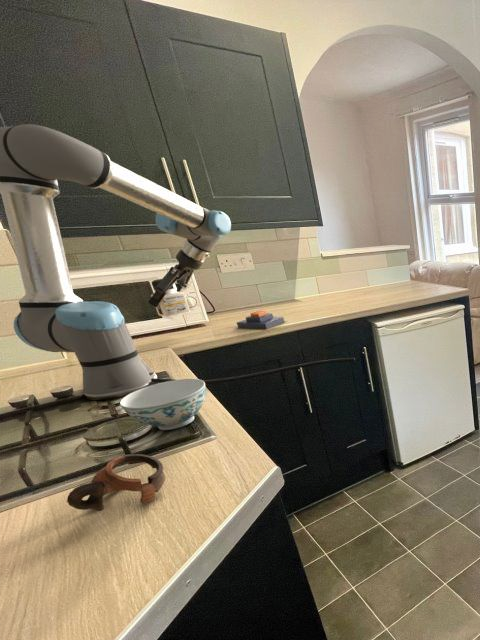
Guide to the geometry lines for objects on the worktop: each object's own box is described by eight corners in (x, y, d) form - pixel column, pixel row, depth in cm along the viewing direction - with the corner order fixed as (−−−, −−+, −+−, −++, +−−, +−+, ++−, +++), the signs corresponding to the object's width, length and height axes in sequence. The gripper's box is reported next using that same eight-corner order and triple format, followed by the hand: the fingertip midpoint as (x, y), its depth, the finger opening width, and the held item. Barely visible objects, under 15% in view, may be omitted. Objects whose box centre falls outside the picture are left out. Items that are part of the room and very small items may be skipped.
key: (267, 315, 173) (265, 311, 172) (259, 317, 169) (258, 313, 168) (259, 315, 173) (257, 310, 173) (251, 317, 170) (250, 313, 169)
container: (168, 317, 153) (154, 281, 148) (158, 315, 157) (144, 280, 152) (191, 312, 159) (178, 277, 154) (181, 310, 163) (168, 276, 158)
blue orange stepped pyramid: (284, 322, 175) (282, 312, 174) (266, 328, 167) (263, 319, 165) (257, 321, 179) (254, 311, 177) (238, 327, 170) (235, 318, 168)
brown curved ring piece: (132, 480, 76) (143, 443, 74) (171, 509, 75) (183, 472, 73) (46, 510, 64) (56, 467, 62) (90, 544, 63) (102, 501, 61)
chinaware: (228, 416, 97) (217, 386, 94) (151, 447, 86) (136, 413, 83) (197, 402, 105) (187, 374, 102) (123, 429, 93) (108, 398, 90)
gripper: (187, 266, 143) (154, 315, 147) (217, 258, 163) (187, 301, 167) (163, 251, 140) (130, 301, 144) (197, 244, 160) (167, 288, 164)
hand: (161, 301), depth 156 cm, fingers closed on container, 11 cm apart
